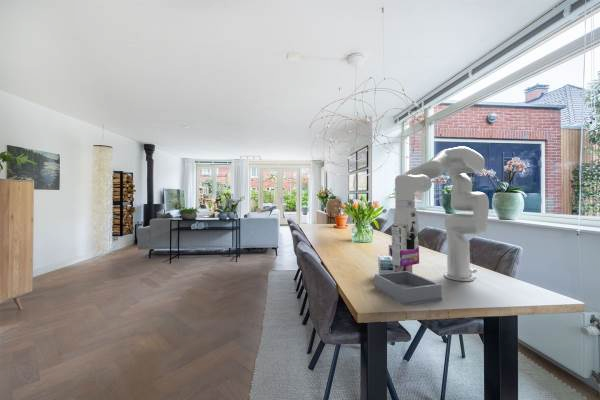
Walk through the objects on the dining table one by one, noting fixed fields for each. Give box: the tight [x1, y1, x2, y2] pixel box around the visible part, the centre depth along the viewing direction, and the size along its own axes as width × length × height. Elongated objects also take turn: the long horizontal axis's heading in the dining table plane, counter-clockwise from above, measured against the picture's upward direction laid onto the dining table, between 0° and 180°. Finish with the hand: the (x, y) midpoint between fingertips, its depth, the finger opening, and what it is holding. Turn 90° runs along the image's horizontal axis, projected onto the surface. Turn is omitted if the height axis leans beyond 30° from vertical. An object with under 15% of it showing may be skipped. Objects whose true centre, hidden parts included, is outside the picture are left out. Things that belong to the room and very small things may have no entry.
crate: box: [374, 271, 443, 306], centre depth 107 cm, size 17×20×6 cm
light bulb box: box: [377, 254, 395, 274], centre depth 126 cm, size 11×7×11 cm, turn 168°
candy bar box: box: [390, 225, 420, 267], centre depth 107 cm, size 11×5×16 cm, turn 117°
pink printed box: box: [388, 244, 413, 273], centre depth 133 cm, size 11×7×15 cm, turn 33°
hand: (405, 247), depth 107 cm, fingers closed on candy bar box, 5 cm apart
